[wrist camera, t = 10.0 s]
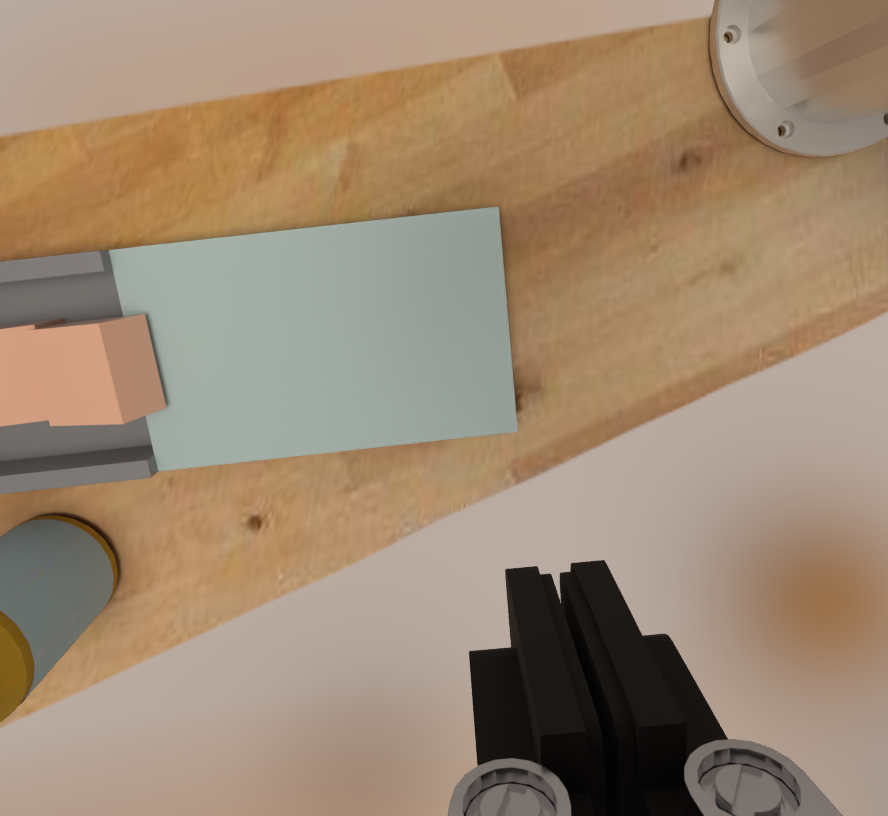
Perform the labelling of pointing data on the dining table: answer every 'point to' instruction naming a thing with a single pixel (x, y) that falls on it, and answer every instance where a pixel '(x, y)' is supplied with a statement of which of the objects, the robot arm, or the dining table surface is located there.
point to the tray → (37, 443)
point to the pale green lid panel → (325, 337)
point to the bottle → (47, 598)
